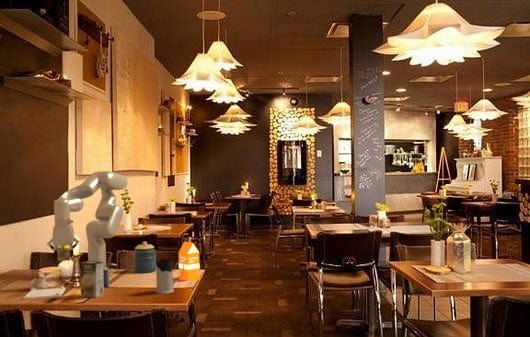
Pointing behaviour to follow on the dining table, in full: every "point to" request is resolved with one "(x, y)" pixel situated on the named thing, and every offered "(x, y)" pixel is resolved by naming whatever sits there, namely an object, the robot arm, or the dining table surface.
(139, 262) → the canister
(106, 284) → the flask
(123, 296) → the dining table surface
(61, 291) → the baseplate
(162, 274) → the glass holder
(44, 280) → the ash brick
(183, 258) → the orange juice
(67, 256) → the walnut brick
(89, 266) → the coffee box
